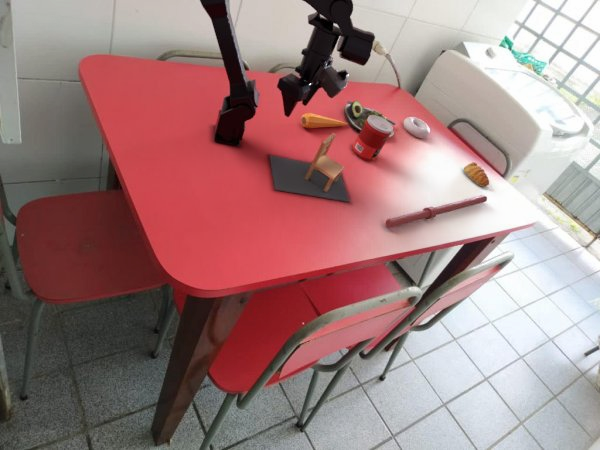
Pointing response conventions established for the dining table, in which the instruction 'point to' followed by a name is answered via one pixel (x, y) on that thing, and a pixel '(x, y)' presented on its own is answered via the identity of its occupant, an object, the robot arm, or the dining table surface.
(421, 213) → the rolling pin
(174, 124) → the dining table surface
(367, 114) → the salad plate
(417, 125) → the donut
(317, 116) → the carrot
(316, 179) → the mat
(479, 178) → the pastry
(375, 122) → the canned food
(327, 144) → the toy chair
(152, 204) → the dining table surface
